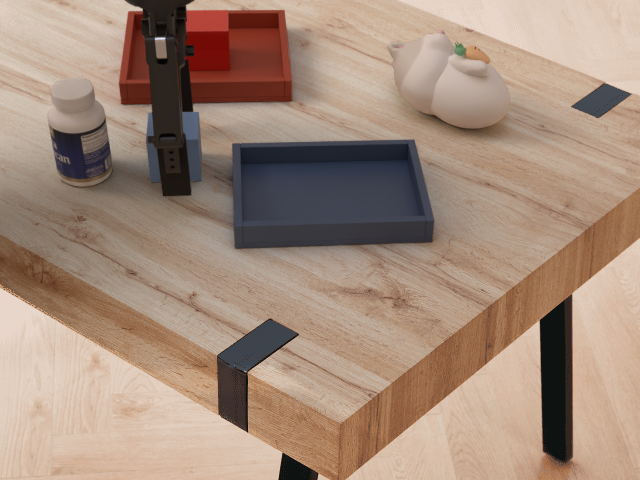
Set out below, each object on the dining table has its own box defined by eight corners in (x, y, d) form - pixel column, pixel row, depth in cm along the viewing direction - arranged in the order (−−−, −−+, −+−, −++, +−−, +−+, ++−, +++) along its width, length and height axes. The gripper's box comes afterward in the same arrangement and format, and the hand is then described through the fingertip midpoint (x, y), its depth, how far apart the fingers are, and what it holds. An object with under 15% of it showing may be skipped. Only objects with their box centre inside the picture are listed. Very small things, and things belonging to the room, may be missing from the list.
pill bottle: (46, 172, 107) (30, 87, 101) (90, 150, 111) (77, 66, 104) (80, 195, 105) (65, 109, 98) (124, 172, 108) (112, 87, 102)
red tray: (121, 104, 117) (118, 83, 116) (130, 30, 130) (128, 10, 128) (291, 101, 120) (291, 80, 118) (284, 29, 132) (284, 9, 130)
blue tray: (234, 248, 100) (233, 226, 98) (233, 164, 110) (232, 143, 108) (432, 242, 102) (434, 220, 100) (413, 160, 112) (414, 139, 110)
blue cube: (150, 182, 107) (145, 140, 104) (152, 154, 111) (148, 112, 107) (201, 181, 108) (198, 139, 104) (201, 152, 111) (198, 111, 108)
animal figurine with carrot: (525, 55, 110) (402, -2, 115) (485, 118, 109) (362, 58, 113) (527, 100, 119) (413, 46, 124) (490, 158, 118) (376, 101, 122)
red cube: (186, 71, 122) (183, 31, 119) (187, 49, 126) (183, 10, 122) (230, 70, 123) (228, 30, 119) (230, 48, 126) (228, 9, 123)
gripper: (198, 18, 85) (216, 228, 99) (201, -106, 104) (216, 87, 118) (102, 20, 84) (134, 232, 98) (122, -105, 103) (147, 89, 117)
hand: (179, 153), depth 108 cm, fingers open, 13 cm apart
